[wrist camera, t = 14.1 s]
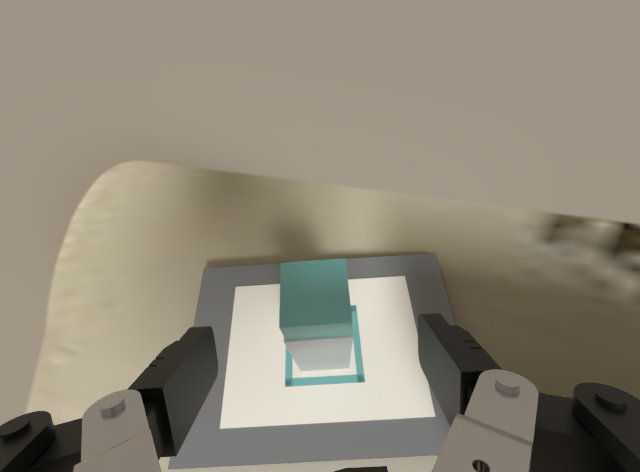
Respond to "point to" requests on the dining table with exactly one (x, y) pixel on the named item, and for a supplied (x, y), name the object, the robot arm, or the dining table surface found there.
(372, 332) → the mat
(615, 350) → the dining table surface
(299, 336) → the two-tone teal pillar
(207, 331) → the robot arm
